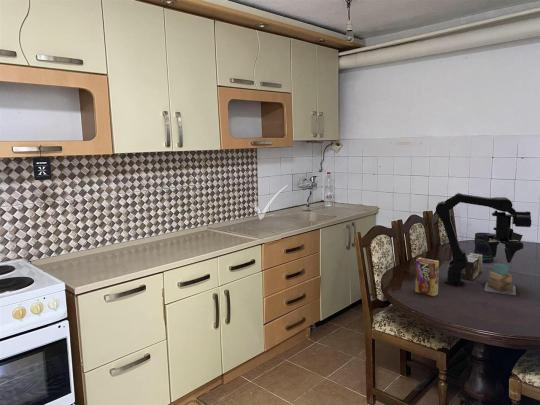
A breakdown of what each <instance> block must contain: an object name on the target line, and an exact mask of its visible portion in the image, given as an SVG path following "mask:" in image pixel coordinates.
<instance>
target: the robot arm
mask: <svg viewBox="0 0 540 405" xmlns="http://www.w3.org/2000/svg"><path fill="white" fill-rule="evenodd" d="M460 203H462V204H468V205H475V206H482V207H488V208H491V209H494V211H493V212H492V213H491V216H492V217H495V227H493V230H494V231H495V233H491V234H485V235H484V236H483V240H484V241H485V243H486V244H487V246H488V248H489V250H490V252H491V254H492V256H493V257H494V258H496V257H497V253H498V245H499V244H503V245H504V248H503V249H504V254H505V259H506V262H507V263H508V264H510V263H511V262H512V260H513V258H514V256H515V254H516V252H518V251H521V250H524V243H523V242H522V238H523V236H524V235H523V234H521V233H517V232H514V229H513V228H511V226H512V225H514V227H519V228H531V227H532V215H531V213H532V212H531V211H517V210H516V209H515V208H513V202H512V201H511V200H510V199H509V198H508V197H506V196H505V197H504V196H503V197H501V196H500V197H498V196H497V197H485V196H480V195H472V194H465V193H461V192H457V193H455V194H454V195H453V196H451V197H449V198H447V199H446V200H444V201H440V202H438V203H437V204H436V207H435V213H436V214H437V215H438V217H439V219H440V221H441V223H442V225H443V227H444V230H445V234H446V238H447V240H448V244H449V246H450V250H451V254H452V260H451V261H449V262H448V266H447V267H448V270H447V276H446V277H447V278H446V280H444V283H447V284H450V285H452V286H456V287H457V286H459V285H463V284H466V282H465V281H463V278H462V269H464V268H465V267H466V266H467V262H468V257H467V254H466V249H462V248H461V247H460V243H459V241H458V238H457V235H456V232H455V229H454V226H453V222H452V219H451V211H450V210H451V209H453V208H454V207H456V206H457V205H458V204H460Z"/></svg>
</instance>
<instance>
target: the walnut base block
mask: <svg viewBox="0 0 540 405" xmlns="http://www.w3.org/2000/svg"><path fill="white" fill-rule="evenodd" d="M487 282H488V287H491V288H493V289H495V290H497V291H509V290H513V286H514V282H513V281H511V282H509V283H497V282H495V281H493V280H491V279H490V278H488V279H487Z"/></svg>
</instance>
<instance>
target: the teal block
mask: <svg viewBox="0 0 540 405" xmlns="http://www.w3.org/2000/svg"><path fill="white" fill-rule="evenodd" d="M493 271H494V273H497V274H499V275H505V274H508V273H509V264H506V263H503V262H498V263H494V264H493Z"/></svg>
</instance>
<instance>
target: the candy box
mask: <svg viewBox="0 0 540 405" xmlns="http://www.w3.org/2000/svg"><path fill="white" fill-rule="evenodd" d="M439 266H440V261H439V260H437V259H436V260H435V259H430V258H423V257H417V258H416V259H415V288H414V290H415V293H417V294H418V293H419V294H423V295H426V296H427V295H428V296H432V297H436V296H437V295H438V294H439V274H440V272H439V271H440V267H439Z"/></svg>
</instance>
